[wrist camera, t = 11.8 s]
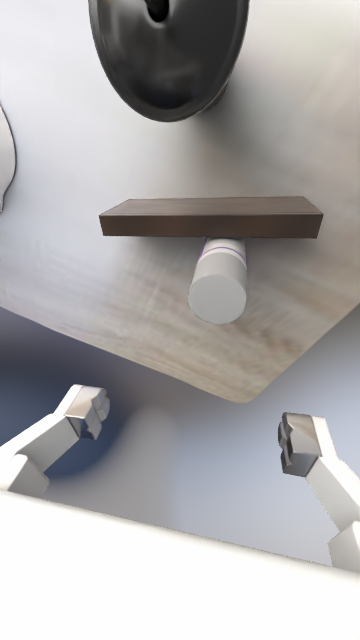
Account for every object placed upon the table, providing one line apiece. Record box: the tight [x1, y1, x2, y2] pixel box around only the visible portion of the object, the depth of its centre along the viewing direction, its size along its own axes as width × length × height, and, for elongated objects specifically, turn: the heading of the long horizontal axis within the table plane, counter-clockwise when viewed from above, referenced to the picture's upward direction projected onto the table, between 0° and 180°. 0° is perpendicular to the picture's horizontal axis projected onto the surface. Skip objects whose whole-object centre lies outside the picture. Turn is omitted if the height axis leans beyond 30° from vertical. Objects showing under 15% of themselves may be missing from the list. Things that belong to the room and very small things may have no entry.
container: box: [188, 237, 247, 324], centre depth 24 cm, size 5×5×15 cm
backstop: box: [99, 196, 323, 239], centre depth 25 cm, size 20×2×8 cm, turn 93°
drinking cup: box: [88, 0, 250, 122], centre depth 14 cm, size 8×8×20 cm
